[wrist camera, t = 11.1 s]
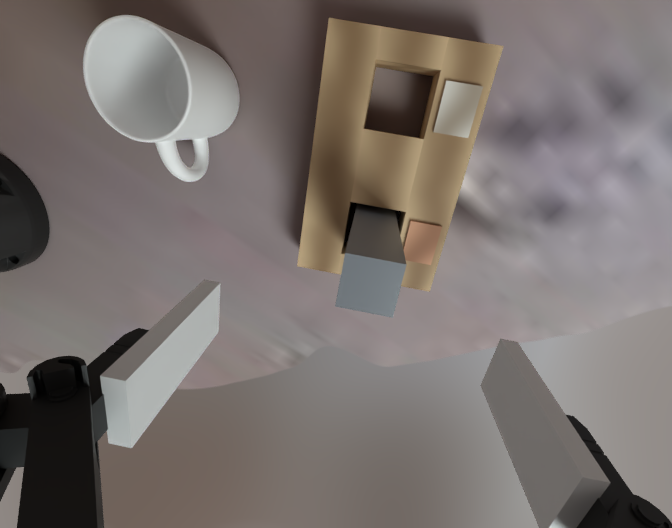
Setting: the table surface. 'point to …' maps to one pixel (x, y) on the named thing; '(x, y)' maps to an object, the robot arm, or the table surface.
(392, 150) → the port block
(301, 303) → the table surface
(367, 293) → the plug
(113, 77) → the mug
